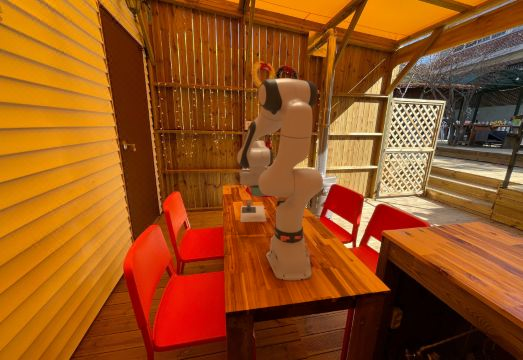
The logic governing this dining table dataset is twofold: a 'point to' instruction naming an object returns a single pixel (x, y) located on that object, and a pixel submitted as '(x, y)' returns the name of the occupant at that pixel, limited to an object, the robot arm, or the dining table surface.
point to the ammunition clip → (281, 199)
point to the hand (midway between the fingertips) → (257, 191)
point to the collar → (256, 191)
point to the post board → (252, 213)
